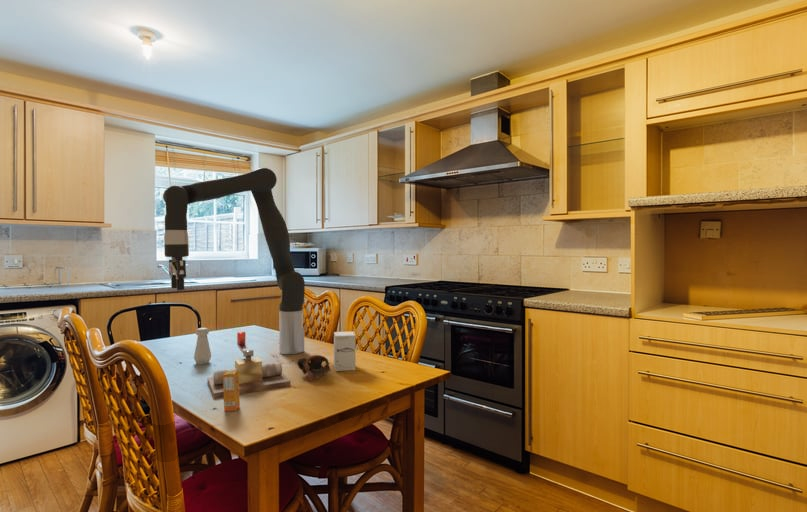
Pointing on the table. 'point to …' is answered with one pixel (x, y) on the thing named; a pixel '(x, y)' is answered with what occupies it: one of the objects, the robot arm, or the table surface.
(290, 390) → the table surface
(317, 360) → the pottery mug
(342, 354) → the supplement box
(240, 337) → the valve lever
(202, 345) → the salt shaker
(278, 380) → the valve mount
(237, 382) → the supplement box
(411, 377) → the table surface
